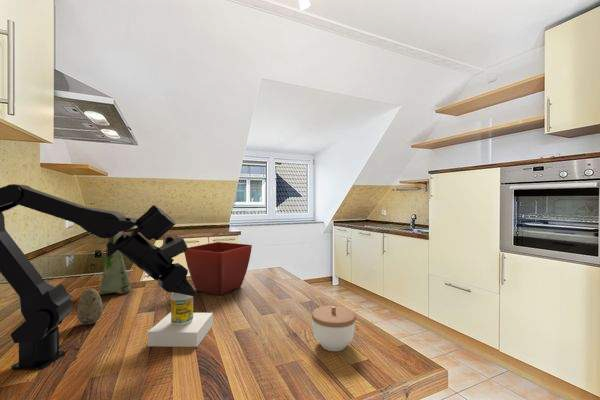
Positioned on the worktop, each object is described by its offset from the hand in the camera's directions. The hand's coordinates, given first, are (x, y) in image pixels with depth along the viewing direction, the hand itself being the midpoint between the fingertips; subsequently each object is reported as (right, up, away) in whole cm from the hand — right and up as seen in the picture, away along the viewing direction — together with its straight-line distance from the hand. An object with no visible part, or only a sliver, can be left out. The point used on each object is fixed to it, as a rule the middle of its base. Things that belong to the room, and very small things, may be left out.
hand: (188, 289), depth 77 cm
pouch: (-41, -11, +33) cm, 53 cm away
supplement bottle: (-1, -8, -1) cm, 8 cm away
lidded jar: (+38, -12, -5) cm, 40 cm away
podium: (-1, -12, -1) cm, 12 cm away
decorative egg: (-30, -11, +6) cm, 33 cm away
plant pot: (-3, -12, +38) cm, 40 cm away
